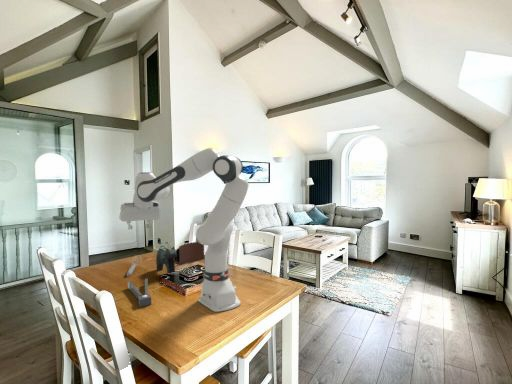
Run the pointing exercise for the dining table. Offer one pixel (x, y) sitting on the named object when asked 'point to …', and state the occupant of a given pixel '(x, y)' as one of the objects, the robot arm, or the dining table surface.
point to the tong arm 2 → (146, 286)
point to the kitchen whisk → (132, 268)
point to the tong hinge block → (144, 300)
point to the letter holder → (189, 253)
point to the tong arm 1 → (134, 290)
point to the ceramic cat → (166, 259)
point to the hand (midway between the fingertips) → (139, 228)
